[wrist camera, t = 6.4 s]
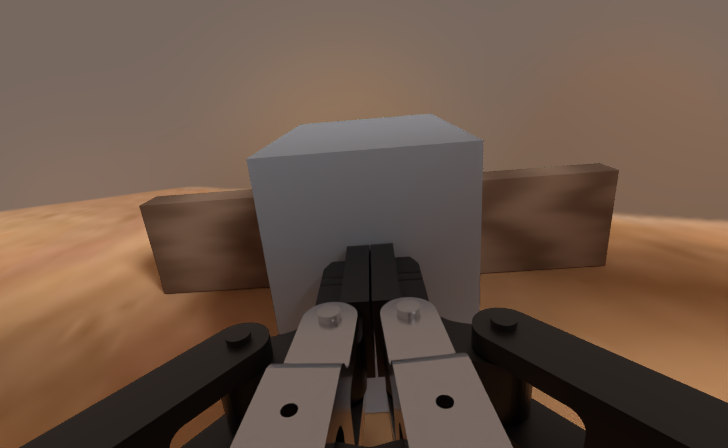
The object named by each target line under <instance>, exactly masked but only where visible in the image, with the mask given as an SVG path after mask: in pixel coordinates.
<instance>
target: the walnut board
mask: <svg viewBox="0 0 728 448" xmlns="http://www.w3.org/2000/svg"><path fill="white" fill-rule="evenodd" d="M618 173H619V170H617V169H614V168H611V167H608V166H605V165H603V164H600V163H597V164H584V165H570V166H557V167H544V168H530V169H517V170H504V171H491V172H483V179H482V221H481V263H480V273H494V272H509V271H525V270H540V269H556V268H571V267H587V266H602V265H605V262H606V255H607V248H608V241H609V235H610V228H611V221H612V214H613V206H614V200H615V193H616V186H617V179H618ZM139 207H140V210H141V213H142V217H143V220H144V224H145V227H146V231H147V234H148V237H149V241H150V244H151V248H152V251H153V255H154V258H155V262H156V265H157V268H158V272H159V275H160V279H161V282H162V286H163V289H164V292H165V294H169V293H184V292H200V291H215V290H231V289H246V288H262V287H270V284H269V279H268V274H267V268H266V263H265V257H264V252H263V246H262V241H261V236H260V230H259V225H258V219H257V214H256V208H255V203H254V198H253V192H252V189H251V190H237V191H224V192H211V193H198V194H184V195H171V196H158V197H155V198H153V199H151V200H149V201H147V202H146V203H144V204H142V205H140V206H139Z"/></svg>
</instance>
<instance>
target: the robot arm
mask: <svg viewBox="0 0 728 448" xmlns="http://www.w3.org/2000/svg"><path fill="white" fill-rule="evenodd" d="M375 345H376V357H377V369H378V377H385V383H386V396H387V406H388V412H389V419H390V425H391V432H392V438H393V441H392V442H389V443H385V444H382V445H378V446H374V447H363V446H362V441H363V431H364V421H365V411H366V394H365V393H366V390H367V378H376V371H375ZM532 386H534V387H535V388H537V389H539V390H541V391H542V392H544V393H546V394H547V395H549V396H551V397H553V398H554V399H556V400H558V401H559V402H561V403H563V404H565V405H566V406H568V407H570V408H571V409H572V410H573V411H575V412H576V413H577V414H578V416H579V417H580V418H581V420H582V421H583V423H584V425H585V429H586V431H585V430H583V429H582V428H580V427H579V426H577V425H575V424H574V423H572V422H570V421H569V420H567V419H565V418H564V417H562V416H560V415H559V414H557V413H555V412H554V411H552V410H551V409H549V408H547V407H546V406H544V405H542V404H541V403H539V402H537V401H536V400H534V399H532V398H531V396H532ZM220 399H221V400H222V404H223V407H224V411H225V414H224V415H223V416H222V417H221V418H219V419H218V420H217V421H215V422H214V423H213V424H211V425H210V426H209V427H207V428H206V429H205V430H203V431H202V432H201V433H199V434H198V435H197V436H195V437H194V438H193V439H191V440H190V441H189V442H187V443H186V444H185V445H183V446H182V447H181V448H728V403H727V402H724V401H722V400H720V399H718V398H715V397H713V396H711V395H708V394H706V393H704V392H702V391H699V390H697V389H695V388H692V387H690V386H688V385H686V384H683V383H681V382H679V381H676V380H674V379H672V378H670V377H667V376H665V375H663V374H660V373H658V372H656V371H654V370H651V369H649V368H647V367H644V366H642V365H640V364H638V363H635V362H633V361H631V360H628V359H626V358H624V357H622V356H619V355H617V354H615V353H612V352H610V351H608V350H606V349H603V348H601V347H599V346H596V345H594V344H592V343H590V342H587V341H585V340H583V339H580V338H578V337H576V336H574V335H571V334H569V333H567V332H564V331H562V330H560V329H558V328H555V327H553V326H551V325H548V324H546V323H544V322H542V321H539V320H537V319H535V318H532V317H530V316H528V315H526V314H523V313H521V312H518V311H516V310H512V309H507V308H489V309H485V310H482V311H480V312H478V313H477V314H475V315H474V317H473V319H472V324H468V323H460V322H455V321H451V320H448V319H445V318H443V317H441V316H439V314H438V312H437V309H436V308H435V306H434V305H433V304H432V303H430V302H429V299H428V295H427V292H426V288H425V284H424V281H423V277H422V274H421V270H420V266H419V263H418V262H417V261H415V260H414V259H413V258H411V257H410V256H409V257H395V254H394V248H393V243H387V244H372V245H371V261H370V249H369V245H359V246H347V250H346V258H345V261H337V262H331V263H330V264H329V265H328V266H327V267H326V268H325V269H324V270H323V275H322V280H321V283H320V287H319V292H318V296H317V300H316V304H315V306H314V307H312V308H311V309H309V310H308V311H307V312H306V313H305V314H304V315H303V317H302V319H301V322H300V324H299V326H298V329H296V330H294V331H291V332H288V333H285V334H281V335H277V336H273V337H270V334H269V330H268V329H267V328H266V327H265V326H264V325H262V324H259V323H241V324H237V325H234V326H231V327H228V328H226V329H224V330H222V331H220V332H219V333H217V334H215V335H214V336H212V337H210V338H208V339H207V340H205V341H203V342H201V343H200V344H198V345H196V346H194V347H193V348H191V349H189V350H188V351H186V352H184V353H182V354H181V355H179V356H177V357H175V358H174V359H172V360H170V361H169V362H167V363H165V364H163V365H162V366H160V367H158V368H156V369H155V370H153V371H151V372H149V373H148V374H146V375H144V376H143V377H141V378H139V379H137V380H136V381H134V382H132V383H130V384H129V385H127V386H125V387H124V388H122V389H120V390H118V391H117V392H115V393H113V394H111V395H110V396H108V397H106V398H105V399H103V400H101V401H99V402H98V403H96V404H94V405H92V406H91V407H89V408H87V409H85V410H84V411H82V412H80V413H79V414H77V415H75V416H73V417H72V418H70V419H68V420H66V421H65V422H63V423H61V424H60V425H58V426H56V427H54V428H53V429H51V430H49V431H47V432H46V433H44V434H42V435H40V436H39V437H37V438H35V439H34V440H32V441H30V442H28V443H27V444H25V445H23V446H21V447H20V448H169V447H170V443H171V440H172V438H173V437H174V435H175V434H176V432H177V431H178V430H179V429H180V428H181V427H182V426H184V425H185V424H186V423H188V422H189V421H191V420H192V419H193V418H195V417H196V416H197V415H199V414H200V413H202V412H203V411H204V410H206V409H207V408H209V407H210V406H211V405H213V404H214V403H216V402H217V401H218V400H220Z"/></svg>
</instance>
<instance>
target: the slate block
mask: <svg viewBox="0 0 728 448" xmlns="http://www.w3.org/2000/svg"><path fill="white" fill-rule="evenodd" d="M247 164H248V170H249V176H250V181H251V187H252V192H253V198H254V203H255V208H256V214H257V219H258V225H259V230H260V236H261V241H262V246H263V252H264V257H265V263H266V268H267V274H268V279H269V284H270V290H271V295H272V301H273V306H274V312H275V317H276V322H277V328H278V333H279V335H281V334H285V333H288V332H291V331H294V330H296V329H298V326H299V324H300V322H301V319H302V317H303V315H304V314H305V313H306V312H307V311H308V310H309V309H311V308H312V307H314V306H315V304H316V300H317V296H318V292H319V287H320V283H321V280H322V275H323V270H324V269H325V268H326V267H327V266H328V265H329V264H330V263H331V262H337V261H345V258H346V250H347V246H359V245H369V249H370V261H371V245H372V244H387V243H393V248H394V254H395V257H409V256H410V257H411V258H413V259H414V260H415V261H417V262H418V263H419V266H420V270H421V274H422V277H423V281H424V284H425V288H426V292H427V295H428V299H429V302H430V303H432V304H433V305H434V306H435V308H436V309H437V312H438V314H439V316H441V317H443V318H445V319H448V320H451V321H455V322H460V323H468V324H472V319H473V317H474V315H475V314H477V313H478V312H479V304H480V263H481V221H482V179H483V140H482V139H480V138H478V137H476V136H474V135H472V134H470V133H468V132H466V131H464V130H462V129H460V128H458V127H456V126H454V125H452V124H450V123H448V122H446V121H444V120H442V119H440V118H438V117H436V116H434V115H432V114H422V115H410V116H398V117H386V118H374V119H362V120H350V121H337V122H325V123H313V124H301V125H299V126H298V127H296V128H294V129H293V130H291V131H290V132H288V133H287V134H285V135H284V136H282V137H280V138H279V139H277V140H276V141H274V142H272V143H271V144H269V145H268V146H266V147H265V148H263V149H261V150H260V151H258V152H257V153H255V154H254V155H252V156H250V157H249V158H247ZM375 371H376V378H367V390H366V393H365V394H366V411H365V413H377V412H388V406H387V396H386V383H385V377H378V369H377V357H376V345H375Z"/></svg>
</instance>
